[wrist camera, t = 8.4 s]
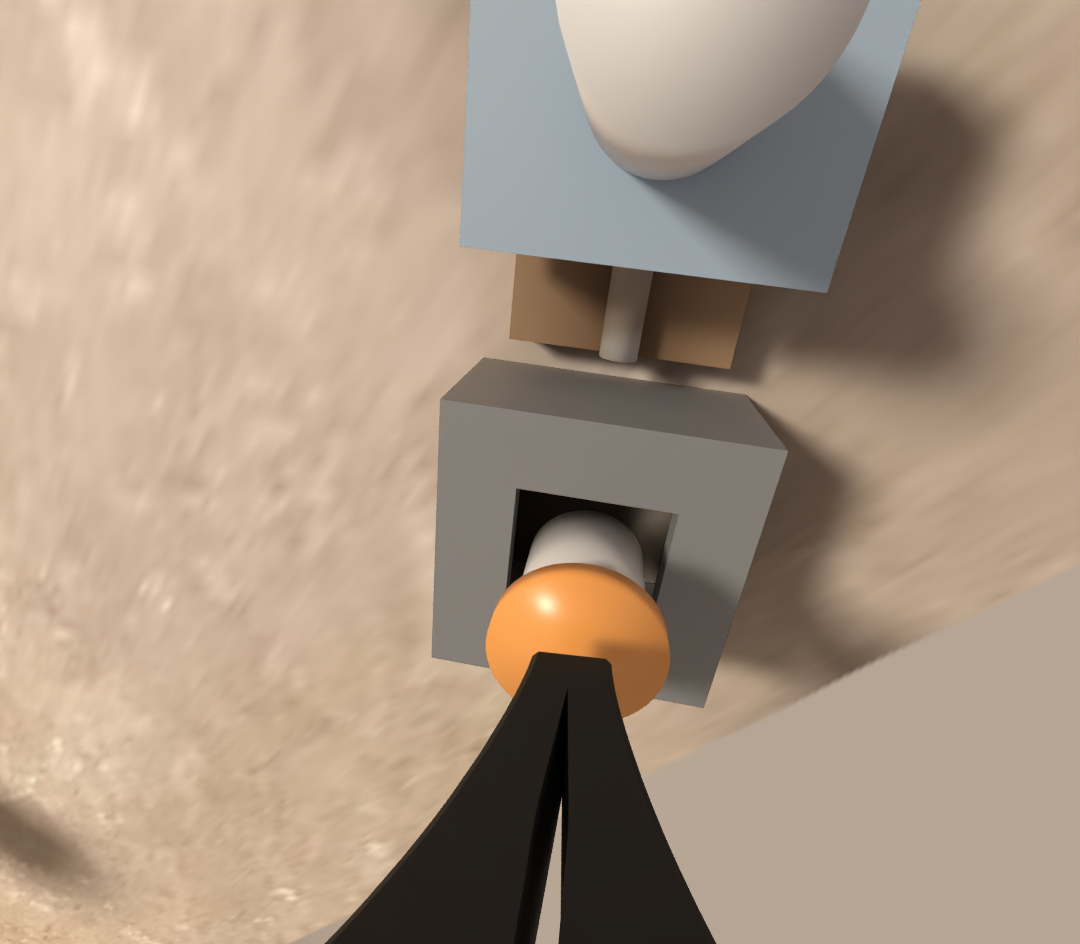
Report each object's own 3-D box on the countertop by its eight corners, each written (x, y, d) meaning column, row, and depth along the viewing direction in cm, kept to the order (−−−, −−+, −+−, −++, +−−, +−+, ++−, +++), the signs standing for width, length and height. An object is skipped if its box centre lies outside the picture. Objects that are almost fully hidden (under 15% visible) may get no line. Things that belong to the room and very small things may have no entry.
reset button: (672, 509, 13) (689, 599, 10) (643, 628, 15) (649, 738, 12) (522, 485, 14) (492, 565, 11) (509, 604, 15) (480, 705, 12)
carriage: (897, -76, 10) (1365, -590, 4) (793, 282, 12) (962, 334, 6) (506, -105, 10) (341, -595, 4) (484, 243, 13) (363, 257, 7)
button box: (745, 394, 16) (788, 450, 12) (683, 616, 20) (700, 717, 16) (483, 357, 17) (440, 399, 13) (469, 579, 20) (431, 667, 16)
